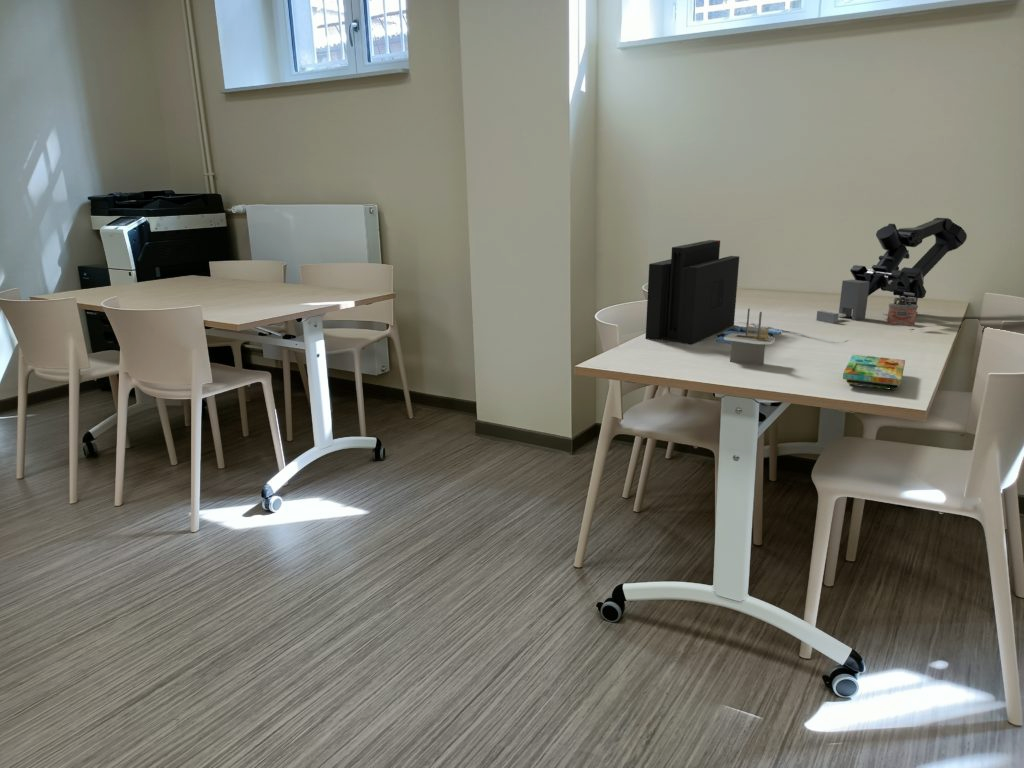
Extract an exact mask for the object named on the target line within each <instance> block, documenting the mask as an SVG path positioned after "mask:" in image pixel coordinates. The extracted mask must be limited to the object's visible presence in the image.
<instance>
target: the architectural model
mask: <svg viewBox="0 0 1024 768" xmlns="http://www.w3.org/2000/svg"><path fill="white" fill-rule="evenodd" d="M750 309H751V308H750V307H749V308H747V314H746V315H747V317H746V326H745V327H746V334H729V335H726V336H725V337H724V340H730V341H731V343H730V357H729V362H731V363H736V364H737V363H738V364H739V363H740V364H746V365H755V366H761V365H763V366H764V362H765V361H764V360H765V351H766V350H765V349H766V345H772V344H774V343H775V342H776V338H775V336H774V337H773V336H772V337H768V331H769V329H770V328H769V327H761V325H762V316H763V312H762V311H759V315H758V326H750V325H749V324H750V323H749V321H750V311H751V310H750ZM748 327H749V328H750V332H751V334H749V333H748ZM751 327H753V328H754V331H755V335H753V333H752V329H751ZM756 328H758V335H757V332H756ZM760 328H762V330H761V329H760ZM764 329H765V330H764ZM760 331H761V332H762V333H761V332H760ZM766 332H767V336H766ZM761 334H762V335H763V336H761Z"/></svg>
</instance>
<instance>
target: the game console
mask: <svg viewBox="0 0 1024 768" xmlns="http://www.w3.org/2000/svg"><path fill="white" fill-rule="evenodd" d="M720 249H721V240H714V239H708V240H702V241H698V242H692V243H687V244H682V245H677V246H672V247H671V258H670V259H666V260H661V261H657V262H656V261H655V262H652V263H649V265H648V278H647V281H648V283H647V301H646V302H647V303H646V321H645V322H646V325H645V339H646V340H653V341H665V342H672V343H673V342H674V343H679V344H683V345H689V346H690V345H691V346H692V345H695V344H697V343H699V342H701V341H703V340H705V339H708V338H710V337H712V336H714V335H716V334H717V337H716V338H715V339H714V340H715V342H719V343H724V342H726V343H725V344H731V341H730V340H724V337H725V336H726V335H729V334H746V327H747V326H739V327H737V326H736V327H733V326H735V319H736V317H735V316H736V315H735V313H736V304H737V292H738V291H737V290H738V289H737V288H738V280H739V279H738V278H739V266H740V255H737V256H736V255H728V256H725V257H721V258H720V253H721V252H720ZM731 327H733V328H731ZM753 327H754V326H751V329H752V333H753V335H755V331H754V328H753ZM762 328H763V327H761V328H760V329H761V330H762ZM727 329H728V330H727ZM725 330H726V331H725ZM764 330H765V329H764ZM720 332H721V333H720ZM756 332H757V335H758V328H756ZM760 332H761V331H760ZM748 333H749V334H751V332H750V328H749V327H748ZM761 333H762V332H761ZM779 333H780V334H781V333H782V331H781V330H777V329H770V328H769V331H768V337H771V336H772V337H773V336H774V335H777V334H778V335H780V334H779ZM761 336H763V335H762V334H761ZM766 336H767V332H766Z"/></svg>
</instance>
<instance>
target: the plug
mask: <svg viewBox="0 0 1024 768" xmlns="http://www.w3.org/2000/svg"><path fill="white" fill-rule="evenodd" d="M841 281H842V283H841V284H842V285H841V290H840V300H839V308H838V313H843V314H846V316H844V317H838V319H839V318H840V319H842V318H850V317H851V321H860V320H865V319H866V315H867V314H866V313H867V306H868V305H867V304H868V299H869V296H868V291H869V284H870V282H867V281H860V280H855V279H845V280H841Z"/></svg>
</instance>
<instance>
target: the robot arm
mask: <svg viewBox="0 0 1024 768" xmlns="http://www.w3.org/2000/svg"><path fill="white" fill-rule="evenodd" d="M967 235H968V234H967V233H966V231H965V229H963V227H962V226H960V225H958V224H956V223H955V222H953V220H952V219H950V218H949V217H948V218H947V217H935V218H934V219H933V220H930V221H927V222H925V223H922V224H919V225H917V226H915V227H901V228H897V226H896V223H888V225H885V226H883V227H881V228H880V229H878V230H877V231H876V233H875V236H876V239H877V240H878V242H879V244H880V246H881V249H883V250H885V253H884V254H883V255H879V256H878V260H879V261H878V262H877V263H876V264H873V265H872V266H871V269H870V268H869V269H867V267H866V265H858V264H854V265H853V266H852V267H851V269H850V270H849V271H850V273H851V275H852V277H853V278H854V280H860V281H867V282H870V284H869V291H868V297H869V296H870V295H872V294H874V293H875V292H876V291H878V290H881V291H882V292H886V291H887V292H890V293H892V294H893V296H898V297H901V296H905V298H908V297H914V298H916V302H911V304H912V305H918V301H919V299H923V298H925V296H926V294H927V289H926V288H925V286H924V283H925V281H924V279H925V277H926V276H927V275H928V273H930V271H932V269H933V268H934V267H935V266H936V265H937V264H938V263H939V262H940V261H941V259H943V258H944V256H945V255H946V254H947V253H948V252H951V251H954V250H958V249H959V248H960V247H961V246H962V245H963V244H964V243H965V242H966V241H967V239H968V236H967ZM931 236H934V237H935V243H934V244H933V245H932V246H931V247H930V248H929V249H928V251H927V252H925V254H923V256H922V257H921V258H920V259H919V260H918V261H917V262H916V263H915V264H914V265H913V266H912V267H905V266H904V267H903V268H901V269H900V267H899V265H901V263H902V261H903V260H904V259H907V260H908V259H910V253H909V249H907V248H916V247H917V246H919V245H921V244H922V243H923V240H924V239H926V238H928V237H929V238H930V237H931ZM908 302H909V301H906V304H908ZM917 314H918V311H916V317H917V316H918V315H917Z"/></svg>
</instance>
